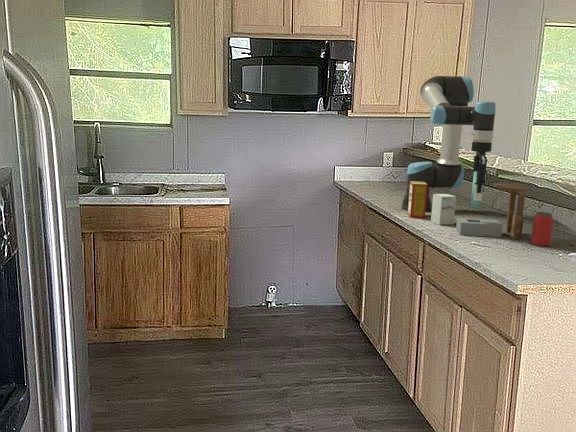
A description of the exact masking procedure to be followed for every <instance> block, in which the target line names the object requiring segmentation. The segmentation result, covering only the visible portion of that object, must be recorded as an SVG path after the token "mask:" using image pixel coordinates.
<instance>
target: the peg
mask: <svg viewBox="0 0 576 432" xmlns="http://www.w3.org/2000/svg"><path fill="white" fill-rule="evenodd" d="M472 178H473V180H472V187H471V198H470V207H472V208H481V207H482V201H483V198H482V199H481V201H474V195H475V184H474V183H476V181H477V171H474V176H473V175H472ZM483 191H484V188H483V189H482V193H483Z"/></svg>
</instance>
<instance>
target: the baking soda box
mask: <svg viewBox="0 0 576 432" xmlns="http://www.w3.org/2000/svg"><path fill="white" fill-rule="evenodd" d="M427 185H428V184H426V183H425V182H418V181H410V188H409V202H408V210H407V215H408V217H409V218H410V219H413V218H414V219H425V218H426V211H425V210H426V197H427Z"/></svg>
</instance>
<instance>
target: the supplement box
mask: <svg viewBox="0 0 576 432" xmlns="http://www.w3.org/2000/svg"><path fill="white" fill-rule="evenodd" d="M432 195H433V196H432V210H431V217H430V222H431V223H433V224H436V225H439V226H441V225H454V224H455V215H456V214H455V213H456V203H457V201H456V200H457V196H456V195H452V194H448V193H434V194H432Z"/></svg>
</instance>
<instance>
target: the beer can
mask: <svg viewBox="0 0 576 432" xmlns="http://www.w3.org/2000/svg"><path fill="white" fill-rule="evenodd" d="M553 223H554V220H553V213H550V212H545V211H544V212H543V211H540V212H539V211H538V212H536V213H535V214H534V218H533V222H532V231H531V238H530V243H531V245H533V246H537V247H538V246H539V247H549V246H550V245H551V238H552V231H553Z"/></svg>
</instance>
